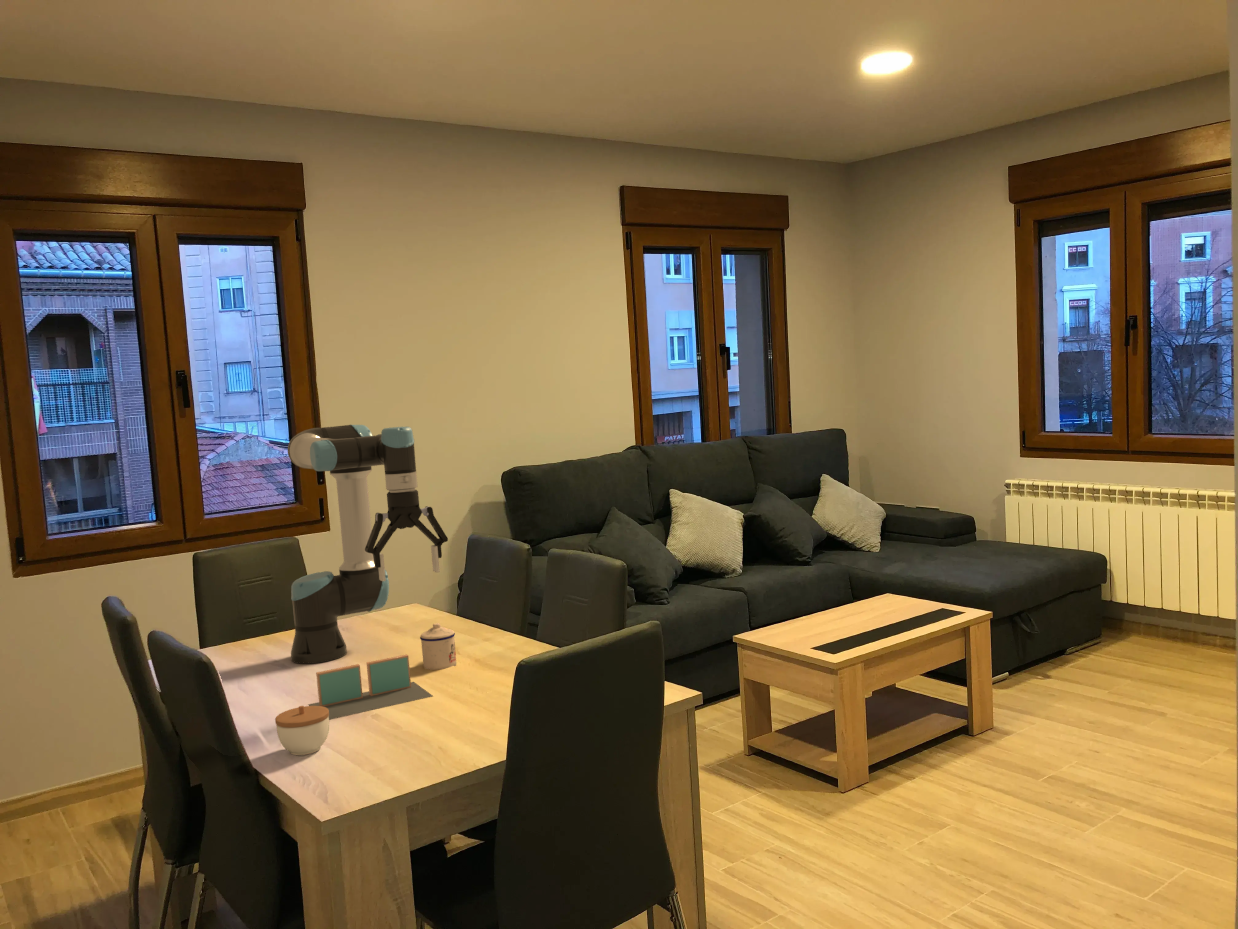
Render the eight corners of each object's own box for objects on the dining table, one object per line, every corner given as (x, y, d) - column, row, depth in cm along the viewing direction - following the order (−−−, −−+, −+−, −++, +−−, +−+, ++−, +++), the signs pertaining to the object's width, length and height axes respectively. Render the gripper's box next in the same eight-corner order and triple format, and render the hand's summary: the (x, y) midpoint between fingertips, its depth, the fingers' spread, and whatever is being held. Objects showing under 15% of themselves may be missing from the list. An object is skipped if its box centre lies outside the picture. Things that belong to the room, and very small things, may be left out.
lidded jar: (285, 743, 214) (281, 700, 213) (336, 738, 215) (332, 696, 214) (272, 762, 203) (268, 717, 202) (326, 757, 204) (322, 712, 203)
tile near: (319, 705, 236) (316, 672, 236) (361, 696, 241) (358, 664, 241) (320, 707, 235) (317, 674, 234) (363, 698, 240) (360, 665, 239)
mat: (308, 706, 238) (308, 704, 238) (413, 684, 251) (413, 681, 250) (323, 723, 225) (322, 721, 225) (433, 698, 237) (433, 696, 237)
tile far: (369, 694, 242) (366, 662, 242) (409, 686, 247) (406, 654, 246) (371, 696, 241) (368, 663, 240) (411, 687, 246) (408, 655, 245)
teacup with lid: (457, 669, 261) (454, 625, 260) (422, 673, 259) (418, 629, 258) (457, 657, 273) (453, 615, 272) (423, 661, 271) (419, 619, 270)
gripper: (355, 497, 234) (363, 586, 236) (456, 485, 246) (463, 570, 248) (347, 495, 240) (355, 581, 242) (445, 483, 253) (452, 566, 254)
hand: (409, 576), depth 245 cm, fingers open, 13 cm apart
